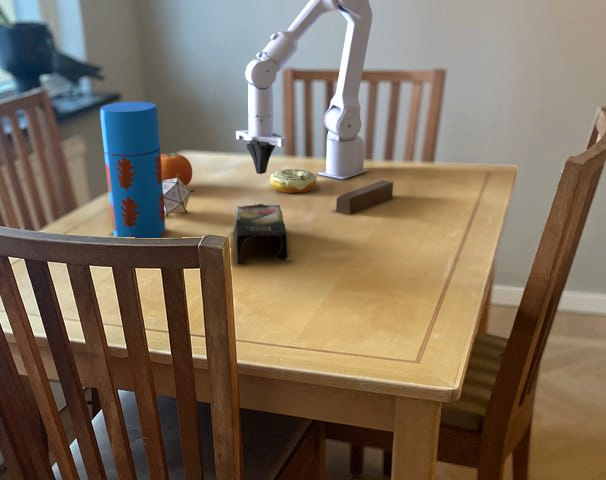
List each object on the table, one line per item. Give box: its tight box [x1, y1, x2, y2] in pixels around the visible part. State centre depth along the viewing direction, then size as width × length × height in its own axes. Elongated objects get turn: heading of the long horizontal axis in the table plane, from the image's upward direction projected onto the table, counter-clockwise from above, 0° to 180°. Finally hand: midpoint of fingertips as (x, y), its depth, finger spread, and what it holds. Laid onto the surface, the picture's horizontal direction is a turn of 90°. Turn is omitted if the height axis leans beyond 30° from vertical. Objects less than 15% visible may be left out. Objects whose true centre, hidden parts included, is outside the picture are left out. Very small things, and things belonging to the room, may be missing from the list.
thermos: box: [100, 101, 166, 239], centre depth 156 cm, size 11×11×25 cm
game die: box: [162, 174, 195, 219], centre depth 171 cm, size 9×8×10 cm
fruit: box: [161, 152, 193, 187], centre depth 189 cm, size 11×10×8 cm
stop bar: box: [335, 179, 394, 215], centre depth 174 cm, size 16×4×4 cm, turn 136°
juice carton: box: [232, 203, 289, 265], centre depth 152 cm, size 20×10×6 cm, turn 1°
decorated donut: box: [269, 168, 318, 194], centre depth 186 cm, size 10×11×4 cm
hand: (261, 173), depth 193 cm, fingers closed
